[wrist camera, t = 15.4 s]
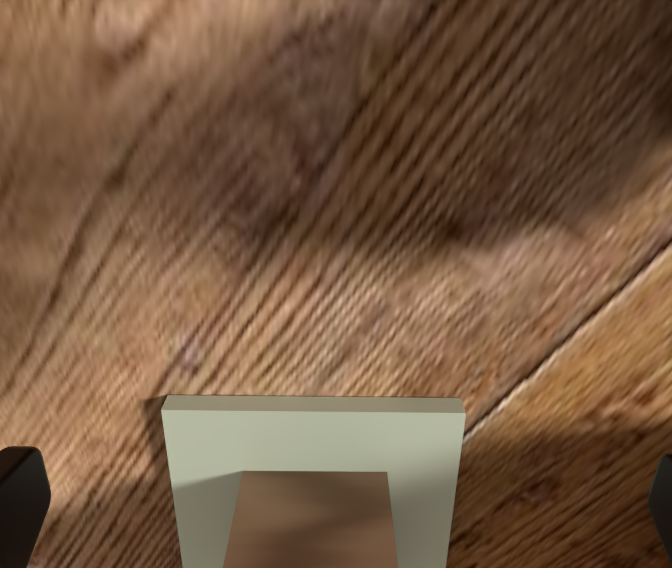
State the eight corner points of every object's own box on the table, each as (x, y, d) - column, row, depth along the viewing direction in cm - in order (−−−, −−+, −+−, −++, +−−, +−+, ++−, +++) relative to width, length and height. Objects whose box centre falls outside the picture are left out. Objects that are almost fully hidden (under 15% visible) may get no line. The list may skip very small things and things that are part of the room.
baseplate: (460, 398, 24) (465, 413, 23) (436, 597, 28) (439, 617, 28) (167, 395, 23) (160, 409, 23) (194, 595, 28) (189, 614, 28)
